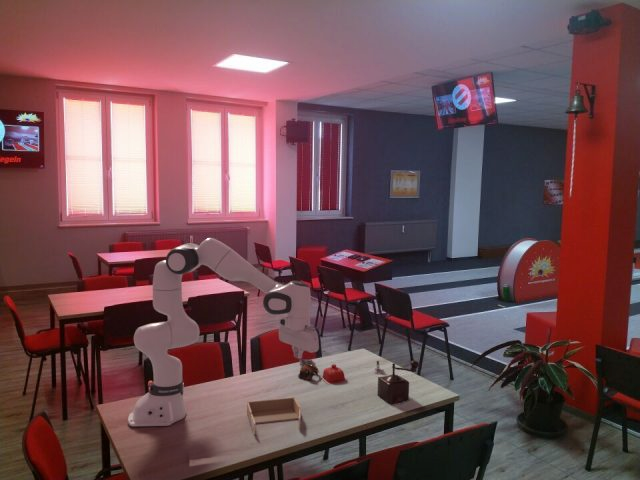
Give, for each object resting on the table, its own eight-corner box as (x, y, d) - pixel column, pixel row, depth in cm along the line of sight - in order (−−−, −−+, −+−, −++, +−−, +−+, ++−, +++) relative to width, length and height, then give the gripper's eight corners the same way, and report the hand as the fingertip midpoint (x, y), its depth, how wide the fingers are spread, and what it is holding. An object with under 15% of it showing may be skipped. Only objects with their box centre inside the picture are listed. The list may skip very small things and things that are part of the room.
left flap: (249, 423, 193) (250, 413, 193) (251, 423, 194) (251, 412, 193) (253, 434, 185) (253, 423, 184) (255, 434, 185) (255, 423, 185)
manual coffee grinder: (389, 406, 213) (390, 366, 211) (376, 397, 223) (377, 358, 221) (419, 401, 219) (421, 361, 217) (406, 392, 229) (407, 354, 227)
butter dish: (318, 378, 245) (318, 362, 244) (339, 375, 249) (339, 359, 248) (327, 387, 234) (327, 369, 233) (349, 384, 239) (349, 366, 238)
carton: (250, 424, 194) (250, 412, 194) (246, 413, 204) (246, 401, 203) (299, 419, 200) (300, 407, 199) (294, 408, 209) (294, 397, 209)
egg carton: (316, 371, 251) (316, 363, 251) (302, 373, 250) (301, 365, 250) (313, 364, 262) (312, 356, 261) (299, 365, 261) (298, 358, 260)
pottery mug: (294, 377, 246) (300, 361, 248) (310, 384, 248) (316, 368, 250) (301, 380, 235) (308, 363, 237) (318, 387, 237) (325, 371, 239)
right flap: (300, 428, 190) (300, 418, 189) (298, 428, 190) (298, 418, 189) (300, 418, 199) (300, 408, 198) (298, 418, 199) (299, 408, 198)
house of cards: (391, 380, 245) (391, 364, 244) (373, 379, 245) (373, 364, 245) (390, 373, 253) (390, 359, 253) (373, 372, 254) (373, 358, 254)
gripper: (323, 327, 187) (322, 363, 188) (288, 316, 201) (287, 349, 203) (310, 330, 182) (309, 366, 184) (276, 318, 197) (275, 352, 199)
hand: (297, 357), depth 193 cm, fingers closed
